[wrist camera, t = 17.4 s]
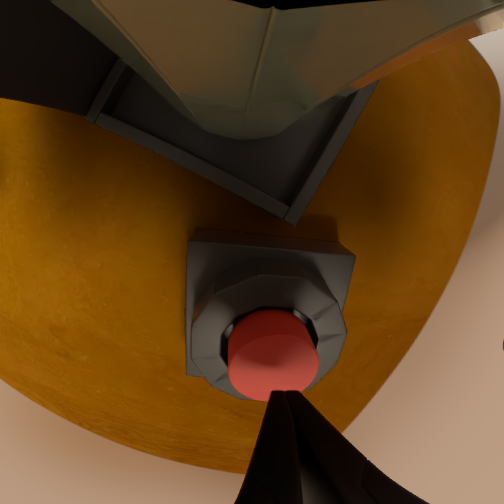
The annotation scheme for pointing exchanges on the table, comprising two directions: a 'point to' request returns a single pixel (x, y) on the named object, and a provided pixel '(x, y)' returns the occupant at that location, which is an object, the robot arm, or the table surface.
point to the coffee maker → (164, 111)
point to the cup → (273, 51)
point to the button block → (261, 294)
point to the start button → (270, 354)
